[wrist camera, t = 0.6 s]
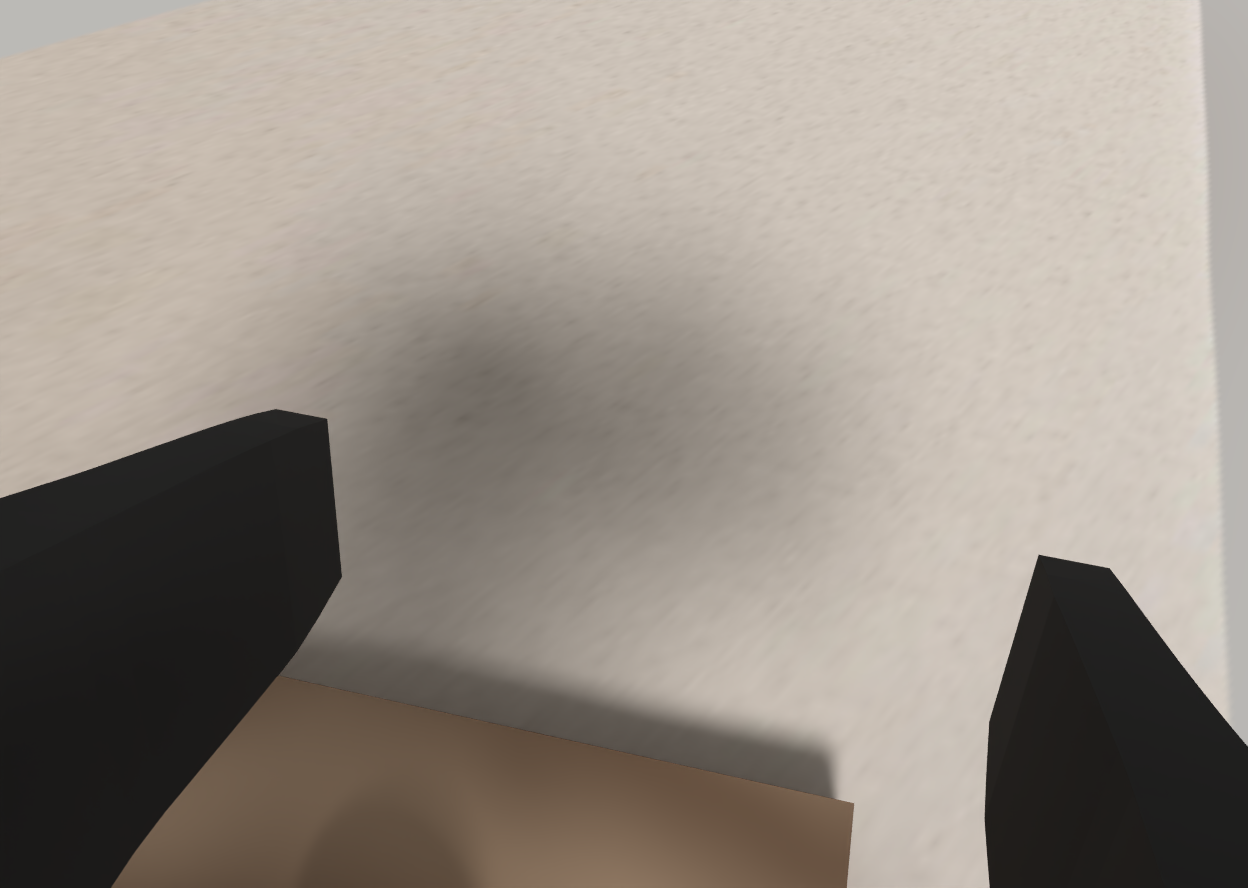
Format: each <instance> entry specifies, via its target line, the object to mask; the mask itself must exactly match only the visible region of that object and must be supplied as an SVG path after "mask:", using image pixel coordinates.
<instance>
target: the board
mask: <svg viewBox="0 0 1248 888" xmlns="http://www.w3.org/2000/svg"><path fill="white" fill-rule="evenodd" d="M853 810H854V803H850V802H845V801H841V800H836V799H832V798H827V797H823V796H818V795H814V794H809V793H805V792H800V791H796V790H791V789H787V788H782V787H778V786H773V785H769V784H764V783H760V782H755V781H751V780H746V779H742V778H737V777H733V776H728V775H724V774H719V773H715V772H710V771H706V770H701V769H697V768H692V767H688V766H683V765H679V764H674V763H670V762H665V761H661V760H656V759H652V758H647V757H643V756H638V755H634V754H629V753H625V752H620V751H616V750H611V749H607V748H602V747H598V746H593V745H589V744H584V743H580V742H575V741H571V740H566V739H562V738H557V737H553V736H548V735H544V734H539V733H535V732H530V731H526V730H521V729H517V728H512V727H508V726H503V725H499V724H494V723H490V722H485V721H481V720H476V719H472V718H467V717H463V716H458V715H453V714H449V713H444V712H440V711H435V710H431V709H426V708H422V707H417V706H413V705H408V704H404V703H399V702H395V701H390V700H386V699H381V698H377V697H372V696H368V695H363V694H359V693H354V692H350V691H345V690H341V689H336V688H332V687H327V686H323V685H318V684H314V683H309V682H305V681H300V680H296V679H291V678H287V677H282V676H277V677H276V679H275V680H274V681H273V682H272V683H271V685H270V686H269V687H268V688H267V690H266V691H265V692H264V693H263V695H262V696H261V697H260V698H259V700H258V701H257V702H256V703H255V704H254V706H253V707H252V708H251V709H250V711H249V712H248V713H247V714H246V715H245V717H244V718H243V719H242V720H241V721H240V723H239V724H238V725H237V726H236V727H235V729H234V730H233V731H232V732H231V733H230V735H229V736H228V737H227V738H226V740H225V741H224V742H223V743H222V744H221V746H220V747H219V748H218V749H217V750H216V752H215V753H214V754H213V755H212V756H211V758H210V759H209V760H208V761H207V762H206V764H205V765H204V766H203V767H202V768H201V770H200V771H199V772H198V773H197V775H196V776H195V777H194V778H193V779H192V781H191V782H190V783H189V784H188V785H187V787H186V788H185V789H184V790H183V791H182V793H181V794H180V795H179V796H178V797H177V799H176V800H175V801H174V802H173V803H172V805H171V806H170V807H169V808H168V810H167V811H166V812H165V813H164V814H163V816H162V817H161V818H160V820H159V821H158V822H157V824H156V825H155V826H154V828H153V829H152V830H151V832H150V833H149V834H148V835H147V837H146V838H145V839H144V841H143V842H142V843H141V845H140V846H139V847H138V849H137V850H136V851H135V853H134V854H133V856H132V857H131V859H130V860H129V862H128V863H127V865H126V866H125V868H124V869H123V871H122V872H121V874H120V875H119V877H118V878H117V880H116V881H115V883H114V884H113V886H112V887H111V888H847V877H848V866H849V855H850V844H851V833H852V821H853Z"/></svg>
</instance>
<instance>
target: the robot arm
mask: <svg viewBox="0 0 1248 888" xmlns="http://www.w3.org/2000/svg"><path fill="white" fill-rule="evenodd" d="M341 577H342V573H341V562H340V551H339V541H338V530H337V519H336V509H335V498H334V487H333V477H332V466H331V455H330V445H329V434H328V424H327V419H325V418H319V417H314V416H309V415H304V414H298V413H293V412H288V411H283V410H278V409H274V410H270V411H266V412H261V413H257V414H253V415H249V416H246V417H242V418H239V419H236V420H232V421H229V422H226V423H223V424H220V425H217V426H214V427H210V428H207V429H205V430H202V431H199V432H196V433H193V434H190V435H187V436H184V437H181V438H178V439H175V440H173V441H170V442H167V443H164V444H161V445H158V446H155V447H153V448H150V449H147V450H144V451H141V452H138V453H135V454H133V455H130V456H127V457H124V458H121V459H118V460H115V461H113V462H110V463H107V464H104V465H101V466H98V467H95V468H93V469H90V470H87V471H84V472H81V473H78V474H75V475H72V476H69V477H66V478H62V479H59V480H56V481H53V482H50V483H47V484H44V485H40V486H37V487H34V488H31V489H28V490H25V491H21V492H18V493H15V494H12V495H9V496H6V497H3V498H0V888H111V887H112V886H113V884H114V883H115V881H116V880H117V878H118V877H119V875H120V874H121V872H122V871H123V869H124V868H125V866H126V865H127V863H128V862H129V860H130V859H131V857H132V856H133V854H134V853H135V851H136V850H137V849H138V847H139V846H140V845H141V843H142V842H143V841H144V839H145V838H146V837H147V835H148V834H149V833H150V832H151V830H152V829H153V828H154V826H155V825H156V824H157V822H158V821H159V820H160V818H161V817H162V816H163V814H164V813H165V812H166V811H167V810H168V808H169V807H170V806H171V805H172V803H173V802H174V801H175V800H176V799H177V797H178V796H179V795H180V794H181V793H182V791H183V790H184V789H185V788H186V787H187V785H188V784H189V783H190V782H191V781H192V779H193V778H194V777H195V776H196V775H197V773H198V772H199V771H200V770H201V768H202V767H203V766H204V765H205V764H206V762H207V761H208V760H209V759H210V758H211V756H212V755H213V754H214V753H215V752H216V750H217V749H218V748H219V747H220V746H221V744H222V743H223V742H224V741H225V740H226V738H227V737H228V736H229V735H230V733H231V732H232V731H233V730H234V729H235V727H236V726H237V725H238V724H239V723H240V721H241V720H242V719H243V718H244V717H245V715H246V714H247V713H248V712H249V711H250V709H251V708H252V707H253V706H254V704H255V703H256V702H257V701H258V700H259V698H260V697H261V696H262V695H263V693H264V692H265V691H266V690H267V688H268V687H269V686H270V685H271V683H272V682H273V681H274V680H275V679H276V677H277V676H278V675H279V674H280V672H281V671H282V670H283V669H284V667H285V666H286V665H287V664H288V662H289V661H290V660H291V658H292V657H293V656H294V655H295V653H296V652H297V651H298V649H299V647H300V646H301V644H302V643H303V641H304V640H305V638H306V636H307V635H308V633H309V632H310V630H311V628H312V627H313V625H314V624H315V622H316V621H317V619H318V617H319V616H320V614H321V612H322V610H323V609H324V607H325V605H326V603H327V602H328V600H329V598H330V597H331V595H332V593H333V591H334V590H335V588H336V586H337V584H338V583H339V581H340V579H341ZM985 831H986V846H987V858H988V871H989V884H990V888H1248V746H1247V745H1246V744H1245V743H1244V742H1243V741H1242V739H1241V738H1240V737H1239V736H1238V735H1237V734H1236V732H1235V731H1234V730H1233V729H1232V727H1231V726H1230V725H1229V724H1228V723H1227V721H1226V720H1225V719H1224V718H1223V716H1222V715H1221V714H1220V713H1219V712H1218V710H1217V709H1216V708H1215V707H1214V705H1213V704H1212V703H1211V702H1210V700H1209V699H1208V698H1207V697H1206V695H1205V694H1204V693H1203V692H1202V690H1201V689H1200V688H1199V687H1198V685H1197V684H1196V683H1195V681H1194V680H1193V679H1192V678H1191V676H1190V675H1189V674H1188V672H1187V671H1186V670H1185V668H1184V667H1183V666H1182V665H1181V663H1180V662H1179V661H1178V659H1177V658H1176V657H1175V655H1174V654H1173V653H1172V651H1171V650H1170V649H1169V647H1168V646H1167V645H1166V643H1165V642H1164V641H1163V639H1162V638H1161V637H1160V635H1159V634H1158V633H1157V631H1156V630H1155V629H1154V627H1153V626H1152V625H1151V623H1150V622H1149V621H1148V619H1147V618H1146V617H1145V615H1144V614H1143V612H1142V611H1141V610H1140V608H1139V607H1138V606H1137V604H1136V603H1135V602H1134V600H1133V599H1132V597H1131V596H1130V595H1129V593H1128V592H1127V591H1126V589H1125V588H1124V587H1123V585H1122V584H1121V583H1120V581H1119V580H1118V579H1117V577H1116V576H1115V575H1114V574H1113V572H1112V571H1111V570H1110V568H1105V567H1100V566H1095V565H1089V564H1084V563H1079V562H1074V561H1068V560H1063V559H1058V558H1053V557H1048V556H1042V555H1039V556H1038V559H1037V562H1036V566H1035V569H1034V572H1033V576H1032V579H1031V583H1030V586H1029V589H1028V593H1027V596H1026V600H1025V603H1024V606H1023V610H1022V613H1021V616H1020V620H1019V623H1018V627H1017V630H1016V633H1015V637H1014V640H1013V644H1012V647H1011V650H1010V654H1009V657H1008V661H1007V664H1006V667H1005V671H1004V674H1003V677H1002V681H1001V684H1000V688H999V691H998V694H997V698H996V701H995V705H994V708H993V711H992V715H991V718H990V721H989V737H988V755H987V772H986V797H985Z"/></svg>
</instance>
